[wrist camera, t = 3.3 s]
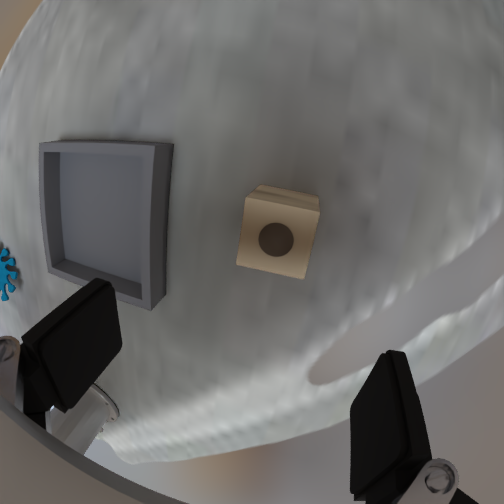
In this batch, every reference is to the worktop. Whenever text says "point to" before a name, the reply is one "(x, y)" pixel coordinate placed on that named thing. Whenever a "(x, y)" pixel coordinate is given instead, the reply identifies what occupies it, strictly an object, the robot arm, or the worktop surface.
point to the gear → (6, 275)
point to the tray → (107, 214)
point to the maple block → (278, 231)
